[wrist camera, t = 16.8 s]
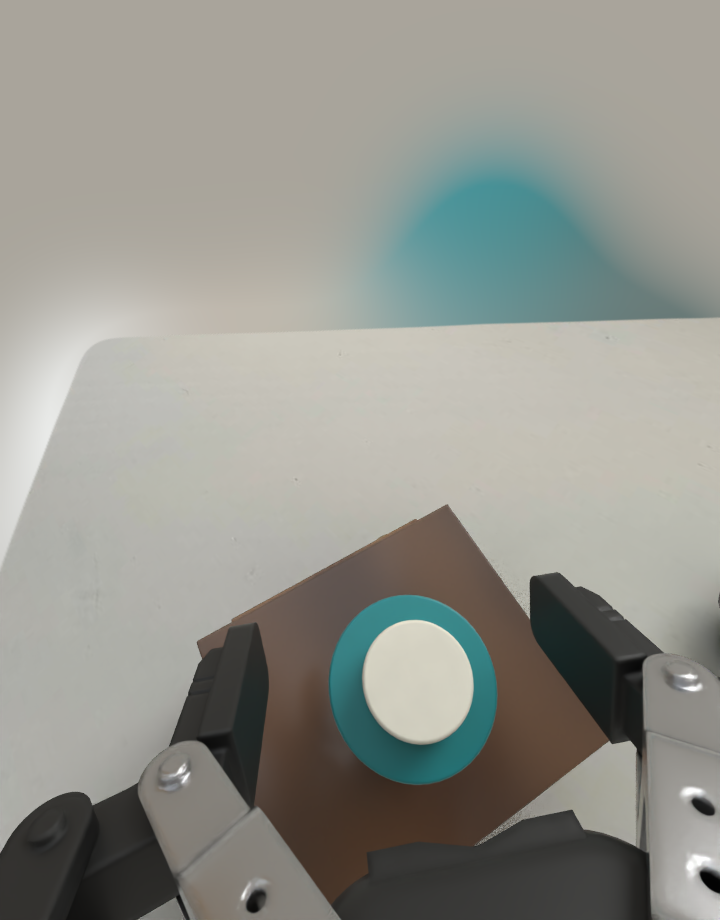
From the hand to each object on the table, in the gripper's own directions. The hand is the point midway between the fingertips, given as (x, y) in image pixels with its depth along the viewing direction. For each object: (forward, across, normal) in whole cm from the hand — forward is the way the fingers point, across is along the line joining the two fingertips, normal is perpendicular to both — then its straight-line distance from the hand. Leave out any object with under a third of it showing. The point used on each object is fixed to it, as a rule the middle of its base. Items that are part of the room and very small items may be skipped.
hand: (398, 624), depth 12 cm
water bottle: (+5, 0, +7) cm, 8 cm away
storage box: (+11, 0, +13) cm, 17 cm away
